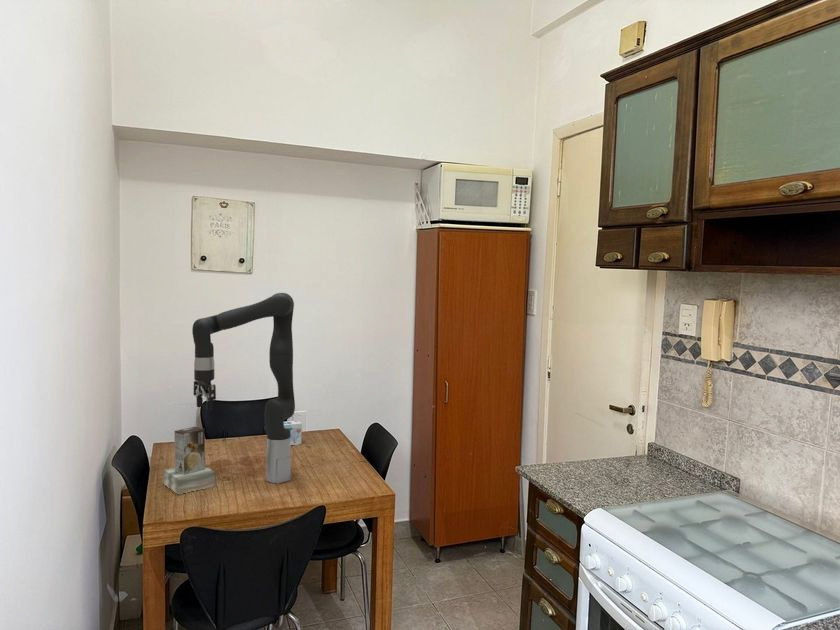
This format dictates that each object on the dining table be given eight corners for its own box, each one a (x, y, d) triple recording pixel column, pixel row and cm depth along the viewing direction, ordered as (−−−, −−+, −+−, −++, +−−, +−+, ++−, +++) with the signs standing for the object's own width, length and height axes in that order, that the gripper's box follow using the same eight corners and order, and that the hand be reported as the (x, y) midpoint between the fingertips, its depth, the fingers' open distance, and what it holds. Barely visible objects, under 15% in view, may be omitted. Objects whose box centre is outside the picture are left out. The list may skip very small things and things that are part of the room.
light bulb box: (280, 447, 281) (280, 425, 280) (276, 443, 286) (277, 421, 286) (302, 444, 286) (302, 423, 285) (298, 441, 291) (298, 420, 291)
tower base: (214, 486, 226) (214, 471, 226) (178, 495, 216) (178, 479, 216) (199, 477, 236) (199, 462, 236) (163, 484, 226) (163, 469, 226)
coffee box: (195, 465, 232) (195, 425, 231) (205, 469, 228) (205, 428, 227) (174, 471, 224) (174, 430, 223) (183, 475, 220) (184, 433, 219)
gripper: (221, 369, 230) (222, 410, 231) (205, 365, 240) (205, 404, 241) (203, 371, 225) (203, 413, 226) (187, 367, 235) (187, 407, 236)
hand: (204, 408), depth 233 cm, fingers open, 8 cm apart
